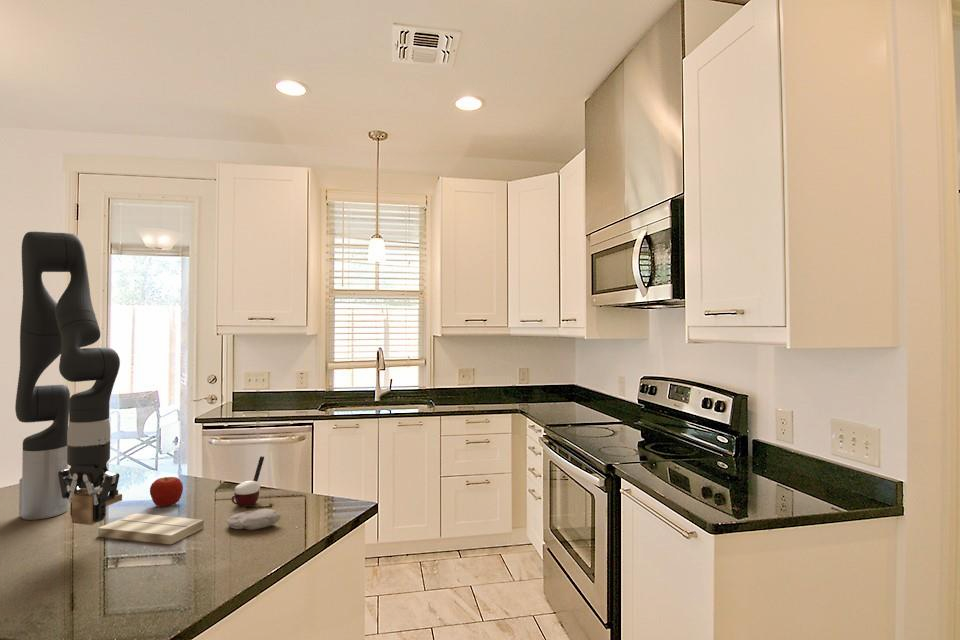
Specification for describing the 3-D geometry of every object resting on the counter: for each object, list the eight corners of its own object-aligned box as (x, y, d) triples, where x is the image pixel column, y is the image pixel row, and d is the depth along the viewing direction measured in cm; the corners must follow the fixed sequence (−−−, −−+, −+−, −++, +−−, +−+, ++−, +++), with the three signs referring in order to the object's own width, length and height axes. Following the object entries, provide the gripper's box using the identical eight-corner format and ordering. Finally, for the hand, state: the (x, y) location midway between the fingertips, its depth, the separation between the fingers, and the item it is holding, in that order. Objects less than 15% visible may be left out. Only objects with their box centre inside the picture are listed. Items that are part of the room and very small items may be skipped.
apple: (159, 512, 141) (159, 482, 141) (143, 506, 145) (143, 477, 145) (188, 503, 147) (188, 475, 148) (172, 499, 152) (172, 471, 152)
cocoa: (233, 511, 142) (231, 467, 142) (227, 504, 147) (226, 461, 147) (270, 503, 148) (269, 460, 148) (264, 496, 153) (262, 455, 153)
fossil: (217, 513, 129) (249, 503, 138) (217, 532, 128) (249, 520, 138) (256, 517, 124) (287, 506, 134) (256, 536, 124) (287, 523, 133)
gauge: (71, 522, 115) (72, 491, 115) (109, 508, 124) (109, 478, 124) (90, 525, 114) (91, 493, 114) (127, 510, 123) (127, 480, 123)
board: (98, 536, 124) (98, 527, 124) (134, 521, 134) (134, 513, 134) (171, 544, 120) (171, 535, 120) (203, 528, 130) (203, 519, 130)
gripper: (45, 442, 114) (43, 522, 114) (100, 447, 111) (99, 529, 111) (78, 434, 121) (77, 510, 121) (131, 439, 118) (130, 516, 118)
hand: (88, 519), depth 116 cm, fingers closed on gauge, 5 cm apart
